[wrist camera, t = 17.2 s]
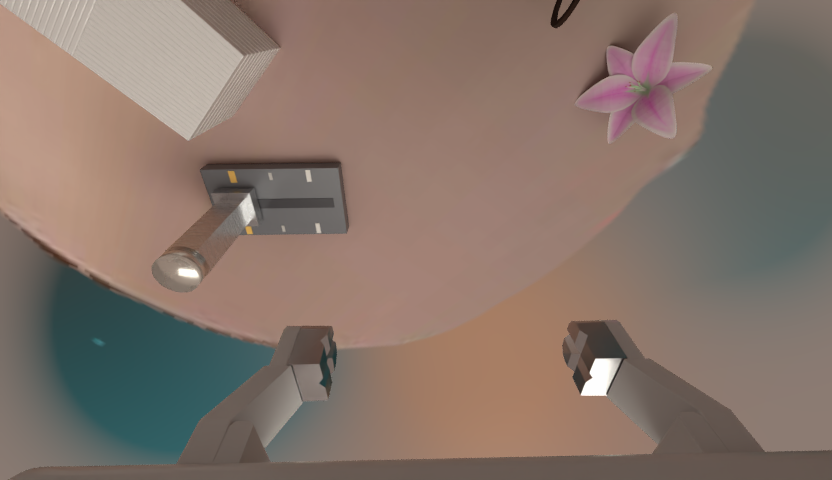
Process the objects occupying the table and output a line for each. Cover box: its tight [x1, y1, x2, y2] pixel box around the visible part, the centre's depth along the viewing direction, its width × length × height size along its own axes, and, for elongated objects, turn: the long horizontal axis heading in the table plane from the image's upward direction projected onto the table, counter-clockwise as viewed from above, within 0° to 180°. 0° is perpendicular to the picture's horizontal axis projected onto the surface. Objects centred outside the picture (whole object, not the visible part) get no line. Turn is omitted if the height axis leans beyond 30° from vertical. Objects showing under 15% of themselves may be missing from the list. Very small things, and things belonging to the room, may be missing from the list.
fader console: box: [200, 163, 349, 235], centre depth 49 cm, size 18×10×2 cm, turn 90°
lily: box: [575, 13, 712, 144], centre depth 39 cm, size 12×12×10 cm
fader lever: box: [152, 188, 263, 292], centre depth 41 cm, size 5×5×16 cm
